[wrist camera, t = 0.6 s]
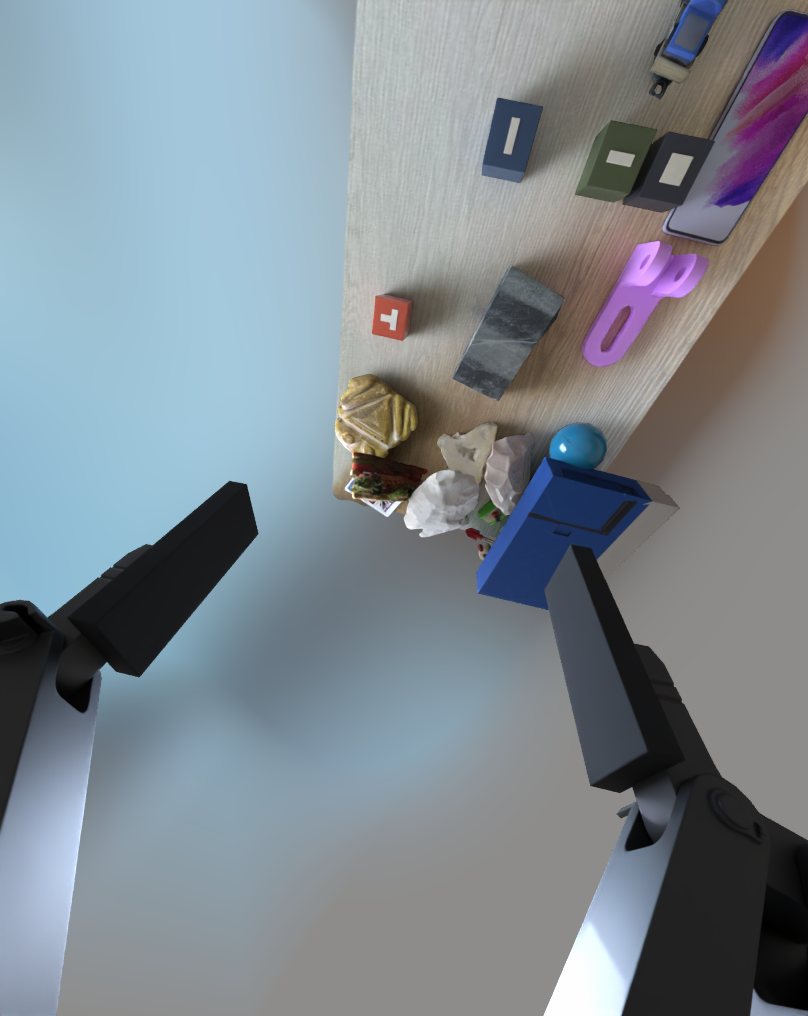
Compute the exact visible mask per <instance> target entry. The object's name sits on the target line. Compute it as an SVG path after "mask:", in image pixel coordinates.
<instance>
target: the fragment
mask: <svg viewBox="0 0 808 1016" xmlns="http://www.w3.org/2000/svg"><path fill="white" fill-rule="evenodd" d="M478 495H479V485H478V484H477V483H476V481H475V478H474V476H472V475H469V474H466V473H462V472H461V471H452V470H442V471H439V472H436V473H434V474H432V475H431V476H429V477H428V478H427V479H426V480H425V481H424V482H423V483H422V484H421V485H420V486H419V487H418V488H417V489H416V490H415V491H414V492H413V493H412V495H411V497H410V498H409V504H408V507H407V513H406V515H405V518H404V521H405V523H406V526H407V527H408V528H409V529H411V530H412V529H420V528H423V532H422V533H420V534H419V535H420V537H428V536H432V535H435V534H439V533H443V532H446V531H450V530H454V529H456V528H459V527H461V526H464V525H466V524H468V523H469V519H468V518H467V517H466V515H467V514H468V513H470V512H471V511H472V510H473V509H475V508H476V504H477V503H478V502H479V500H477V499H478Z"/></svg>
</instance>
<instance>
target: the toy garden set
mask: <svg viewBox="0 0 808 1016" xmlns="http://www.w3.org/2000/svg"><path fill="white" fill-rule="evenodd" d="M478 516H479V518H480V519H482V520H484V521H485V522H487V523H488V524H489V525H490V526H492V525H494V524H495V523H496V522H500V521H501V520H500V519H502V518H503V517H504V516H505V514H503V512H502V511H501V509H500V508H497V507H496V506H495V505H494V504H493V502H492V500H491V501H490V502H488V503H487V504H486V505H485V506H483V507H482V508H481V509H480V510H479V511H478ZM503 527H504V526H502V527H501V530H502V529H503ZM465 532H466V534H467V536H468V537H470V538H473V539H475V540H476V539H477V538H479V539H484V540H486V541H489V542H491V543H493V544H494V542H495V541H493V540H491V539H488V538H486V537H484V536H483V535H481V534H479V532H480V531H478V530H476V529H473V528H469V529H466V531H465ZM478 549H479V557H480V558H481V559H483V560H484V559H485V557H486V556H487V554H488V552H489V551H490V549H491V546H490V545H489V544H488V543H482V544H479V545H478Z"/></svg>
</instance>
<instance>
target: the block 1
mask: <svg viewBox="0 0 808 1016" xmlns="http://www.w3.org/2000/svg"><path fill="white" fill-rule="evenodd" d="M542 110H543V107H542V106H537V105H532V104H527V103H522V102H517V101H512V100H507V99H502V98H497V102H496V106H495V111H494V115H493V120H492V124H491V129H490V133H489V138H488V142H487V146H486V151H485V155H484V160H483V166H482V175H484V176H489V177H493V178H498V179H503V180H508V181H513V182H517V183H519V182H520V181H521V179H522V177H523V175H524V173H525V170H526V166H527V163H528V159H529V156H530V152H531V149H532V145H533V141H534V138H535V134H536V131H537V127H538V124H539V120H540V117H541V113H542Z"/></svg>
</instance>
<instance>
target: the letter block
mask: <svg viewBox="0 0 808 1016" xmlns="http://www.w3.org/2000/svg"><path fill="white" fill-rule="evenodd" d="M412 307H413V301H410V300H406V299H401V298H397V297H392V296H388V295H378V296H375V307H374V317H373V327H372V334H375V335H379V336H384V337H388V338H393V339H397V340H401V341H403V340H404V339H405V338H406V337H407V336H408V332H409V326H410V320H411V314H412Z"/></svg>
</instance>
